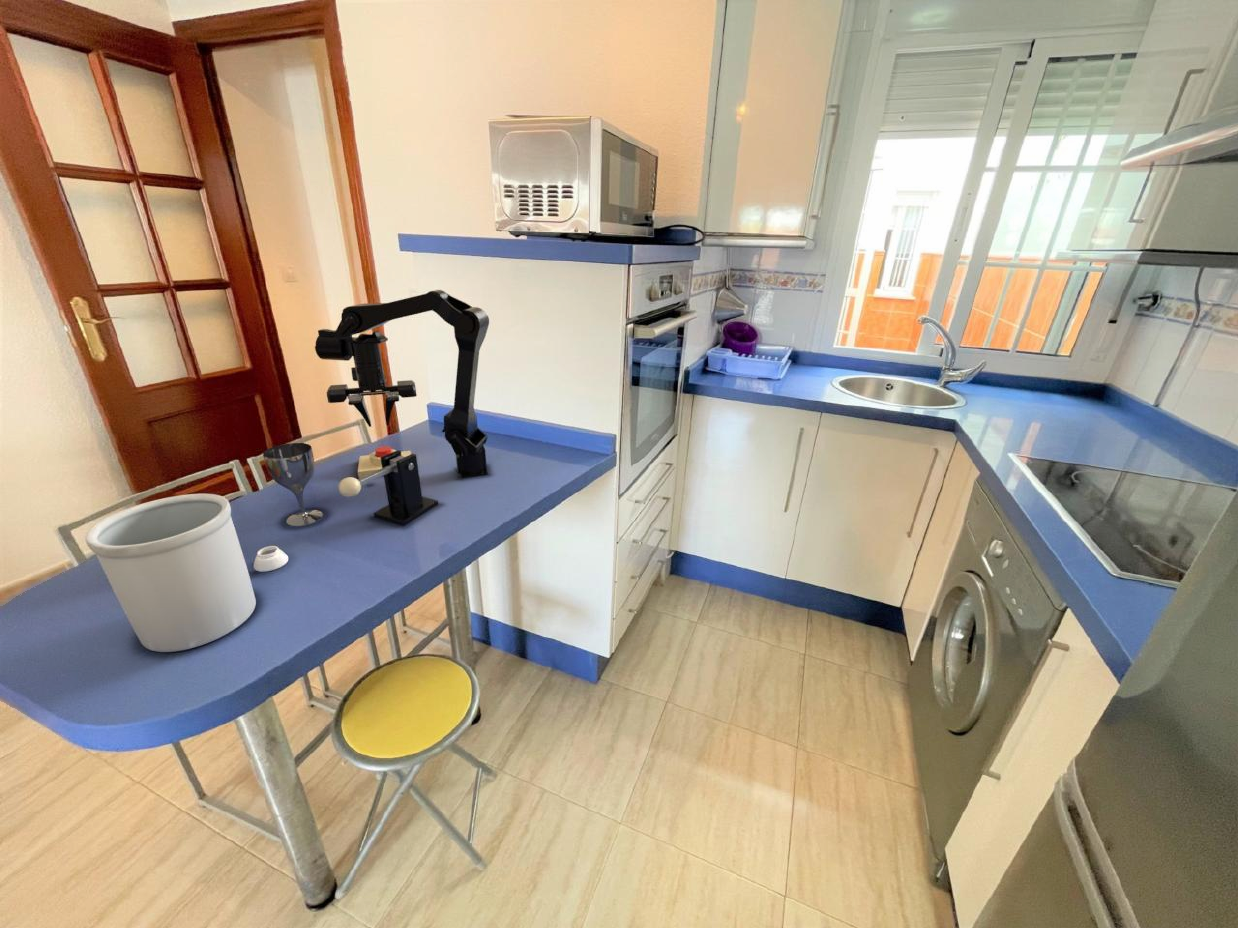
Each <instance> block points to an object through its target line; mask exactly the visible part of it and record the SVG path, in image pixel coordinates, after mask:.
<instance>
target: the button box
mask: <svg viewBox="0 0 1238 928" xmlns="http://www.w3.org/2000/svg"><path fill="white" fill-rule="evenodd" d="M391 450H392V452H394V451H397V450H398V449H397V450H396V449H393V448H391ZM411 454H412V452H411V450H404V451H401V456H404V457H406V456H409V455H411ZM380 469H382V464H381V457H376V451H373V452H371V453H370V454H367V455H360V456H359V459H358V466H357V477H358V479H360V478H362V477H364V476H366V475H369V474H371V473H373V472H375V471H378V470H380Z"/></svg>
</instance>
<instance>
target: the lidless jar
mask: <svg viewBox="0 0 1238 928" xmlns="http://www.w3.org/2000/svg"><path fill="white" fill-rule="evenodd" d="M288 562H289V555H287V554H286V553H285V552H284V551H283V550H282V549H280V548H279V547H278V546H276V545H269V546H268V545H267V546H265V547H262V548H261V549H259V550H258V551H257V553H256V556H255V559H254V563H253V569H254V571H257V572H261V573H262V572H270V571H275V570H277V569H280V568H282V567H283V566H285V565H286V564H287V563H288Z"/></svg>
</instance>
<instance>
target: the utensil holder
mask: <svg viewBox="0 0 1238 928" xmlns="http://www.w3.org/2000/svg"><path fill="white" fill-rule="evenodd" d="M231 514H232V507H231V505H230V501H229V500H228V499H227V498H225V497H224V496H222V495H219V494H214V493H190V494H182V495H173V496H168V497H164V498H159V499H155V500H151V501H146V502H143V503H141V504H137V505H133V506H131V507H128V508H125V509H123V510H119V511H117V512H115V513H113V514H111V515H109V516H107V517H105V518H103V519H101V520H100V521H98V522H97V523H95V524H94V525H92V527H91V528H90V529H88V531H87V532H86V535H85V537H84V538H85V542H86V544H87V547H88V548H89V550H90V551H91V552H92V553H94V554H95V555H96V557H97V560H98V562H99V564H100V565H101V568H102V569H103V572H104V574H105V576H106V578H107V580H108V582H109V584H110V587H111V589H112V590H113V592H114V595H115V596H116V599H117V600H118V602H119V604H120V607H121V608H122V610H123V612H124V614H125V616H126V618H127V620H128V622H129V623H130V625H131V627H132V629H133V631H134V633H135V635H136V636H137V639H138V640H139V641H140V643H141V645H142V646H143V647H144V648H146V649H147V650H149V651H153V652H157V653H173V652H180V651H186V650H191V649H193V648H197V647H200V646H204V645H206V644H209V643H211V642H213V641H216V640H218V639H220V638H223V637H224V636H226V635H227V634H230V633H231V632H233V631H234V630H236V629H237V628H238V627H240V626H241V625H243V623H245V622H246V621H247V620H248V619H249V618H250V617H251V615H252V614H253V612H254V611H255V608H256V604H257V600H256V596H255V591H254V588H253V585H252V581H251V577H250V573H249V570H248V567H247V563H246V560H245V557H244V553H243V550H242V547H241V544H240V540H239V537H238V533H237V531H236V528H235V525H234V522H233V519H232V515H231Z"/></svg>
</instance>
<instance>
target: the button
mask: <svg viewBox="0 0 1238 928" xmlns="http://www.w3.org/2000/svg"><path fill="white" fill-rule="evenodd" d="M391 449H392V447H390V446H387V445H385V446H380V447H377V448H375V451H376V457H383V456H385V455H388V454H390V453H392V450H391ZM375 451H374V452H375Z"/></svg>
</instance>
